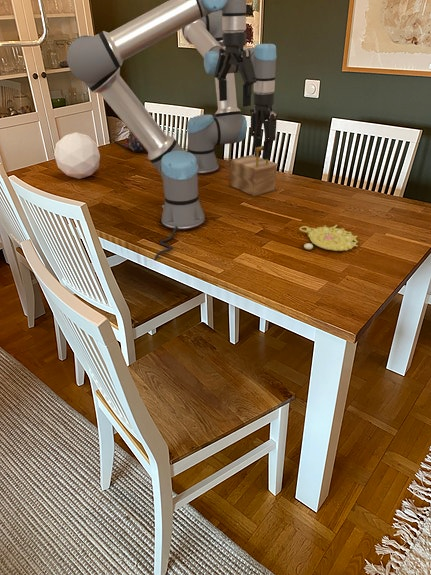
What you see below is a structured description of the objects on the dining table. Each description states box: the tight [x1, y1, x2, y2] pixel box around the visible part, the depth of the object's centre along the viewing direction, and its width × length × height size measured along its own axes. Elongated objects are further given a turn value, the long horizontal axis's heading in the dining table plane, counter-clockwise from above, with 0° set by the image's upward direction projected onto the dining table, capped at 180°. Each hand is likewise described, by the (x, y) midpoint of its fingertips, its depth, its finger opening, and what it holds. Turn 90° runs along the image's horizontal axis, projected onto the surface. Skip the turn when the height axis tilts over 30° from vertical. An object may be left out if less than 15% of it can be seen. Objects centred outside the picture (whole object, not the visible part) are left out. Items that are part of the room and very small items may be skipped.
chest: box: [230, 161, 277, 197], centre depth 181 cm, size 15×11×10 cm
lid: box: [230, 145, 279, 172], centre depth 175 cm, size 16×11×8 cm
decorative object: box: [299, 224, 359, 252], centre depth 141 cm, size 21×2×20 cm
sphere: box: [53, 131, 101, 180], centre depth 196 cm, size 19×20×20 cm
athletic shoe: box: [122, 132, 146, 153], centre depth 234 cm, size 11×22×12 cm
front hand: (234, 103), depth 152 cm, fingers open, 13 cm apart
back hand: (262, 157), depth 172 cm, fingers open, 4 cm apart
